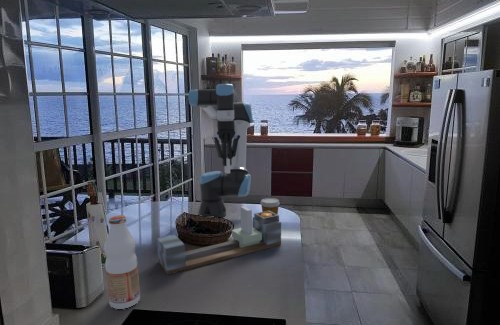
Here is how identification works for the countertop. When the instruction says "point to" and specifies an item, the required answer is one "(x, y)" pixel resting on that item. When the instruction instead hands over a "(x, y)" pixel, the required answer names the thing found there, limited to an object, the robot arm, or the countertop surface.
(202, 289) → the countertop surface
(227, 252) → the rail bench
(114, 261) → the fruit juice
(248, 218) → the block
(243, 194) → the robot arm
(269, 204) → the disposable coffee cup
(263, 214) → the button
